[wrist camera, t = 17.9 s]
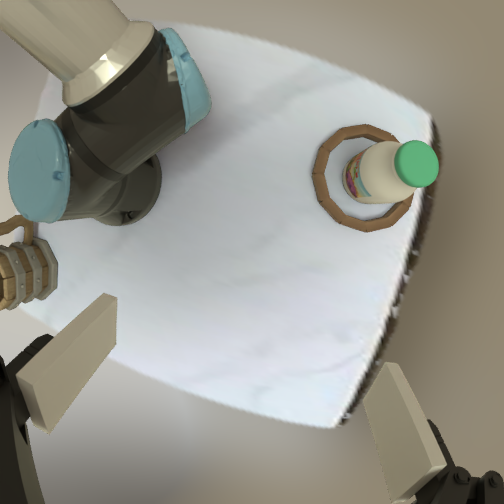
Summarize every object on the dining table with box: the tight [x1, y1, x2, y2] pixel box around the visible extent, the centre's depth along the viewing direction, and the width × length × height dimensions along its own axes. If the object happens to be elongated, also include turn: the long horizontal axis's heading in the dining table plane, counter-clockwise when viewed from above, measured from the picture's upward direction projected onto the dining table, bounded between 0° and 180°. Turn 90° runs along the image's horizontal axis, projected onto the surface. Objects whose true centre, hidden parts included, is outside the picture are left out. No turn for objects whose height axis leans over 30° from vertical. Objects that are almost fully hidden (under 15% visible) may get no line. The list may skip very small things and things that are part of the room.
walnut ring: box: [312, 124, 414, 232], centre depth 43 cm, size 16×16×2 cm
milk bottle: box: [343, 140, 439, 204], centre depth 34 cm, size 8×8×20 cm
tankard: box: [0, 215, 58, 310], centre depth 44 cm, size 20×13×15 cm, turn 168°
